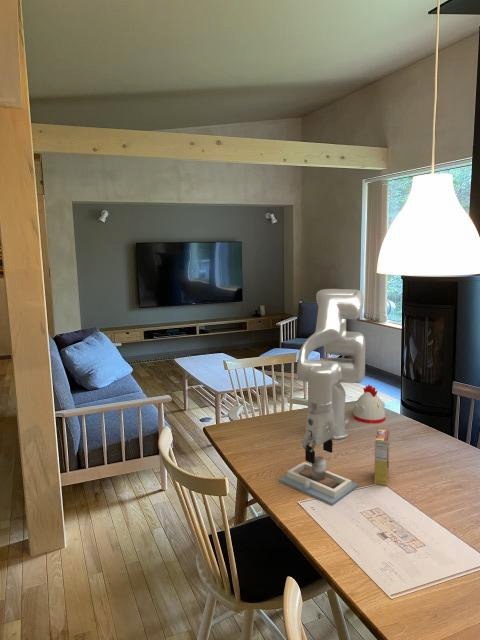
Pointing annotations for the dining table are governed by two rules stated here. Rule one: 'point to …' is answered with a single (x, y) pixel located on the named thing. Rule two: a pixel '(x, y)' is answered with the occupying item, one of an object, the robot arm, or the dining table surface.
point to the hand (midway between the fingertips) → (319, 456)
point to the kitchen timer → (369, 407)
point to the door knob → (319, 473)
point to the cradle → (318, 484)
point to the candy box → (381, 457)
